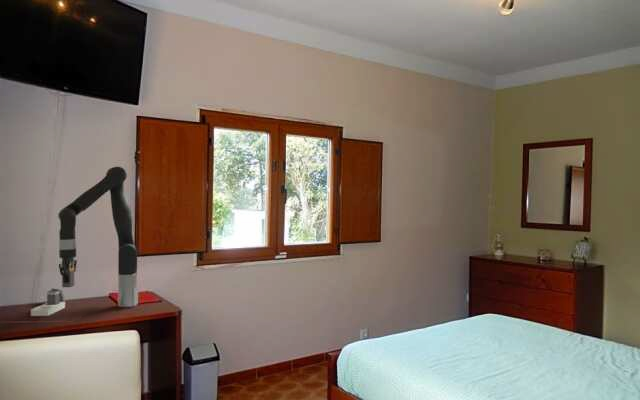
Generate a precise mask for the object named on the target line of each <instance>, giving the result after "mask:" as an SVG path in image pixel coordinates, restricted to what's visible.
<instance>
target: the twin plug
mask: <svg viewBox="0 0 640 400" xmlns="http://www.w3.org/2000/svg"><path fill="white" fill-rule="evenodd" d="M49 291H50V290H49ZM47 292H48V291H47ZM47 292H46V298H47V299H46V300H47V301H46V303H47V305H57V304H59V293H60V291H50V292H48V293H47Z"/></svg>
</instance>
